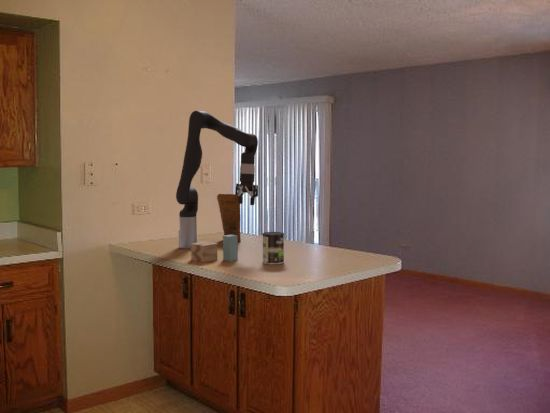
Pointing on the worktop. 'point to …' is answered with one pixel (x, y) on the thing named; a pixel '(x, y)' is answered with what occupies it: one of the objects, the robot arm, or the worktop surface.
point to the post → (230, 247)
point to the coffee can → (273, 248)
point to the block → (204, 251)
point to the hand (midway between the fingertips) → (246, 204)
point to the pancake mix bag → (230, 214)
